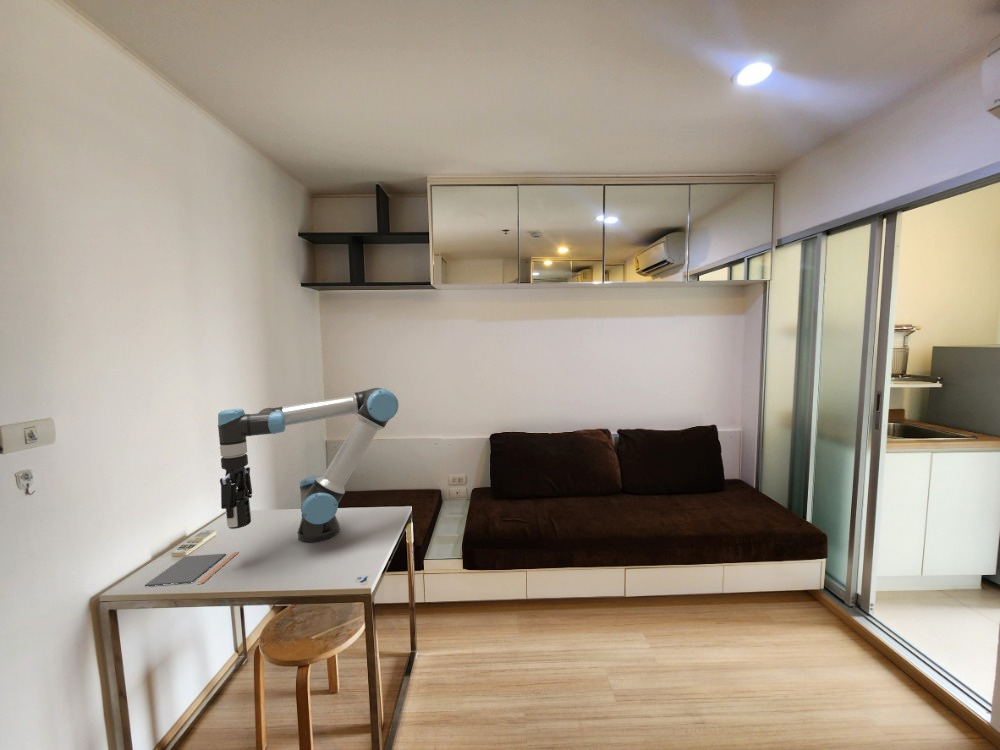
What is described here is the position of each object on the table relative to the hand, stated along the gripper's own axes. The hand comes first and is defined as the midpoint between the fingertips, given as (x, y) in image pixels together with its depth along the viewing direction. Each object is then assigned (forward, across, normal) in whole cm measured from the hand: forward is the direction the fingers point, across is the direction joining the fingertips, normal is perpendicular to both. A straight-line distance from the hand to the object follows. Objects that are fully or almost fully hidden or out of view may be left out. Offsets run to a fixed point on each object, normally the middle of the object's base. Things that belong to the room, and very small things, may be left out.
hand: (239, 521), depth 136 cm
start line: (+15, 0, -7) cm, 17 cm away
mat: (+15, 0, -17) cm, 23 cm away
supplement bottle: (+1, 0, 0) cm, 1 cm away
